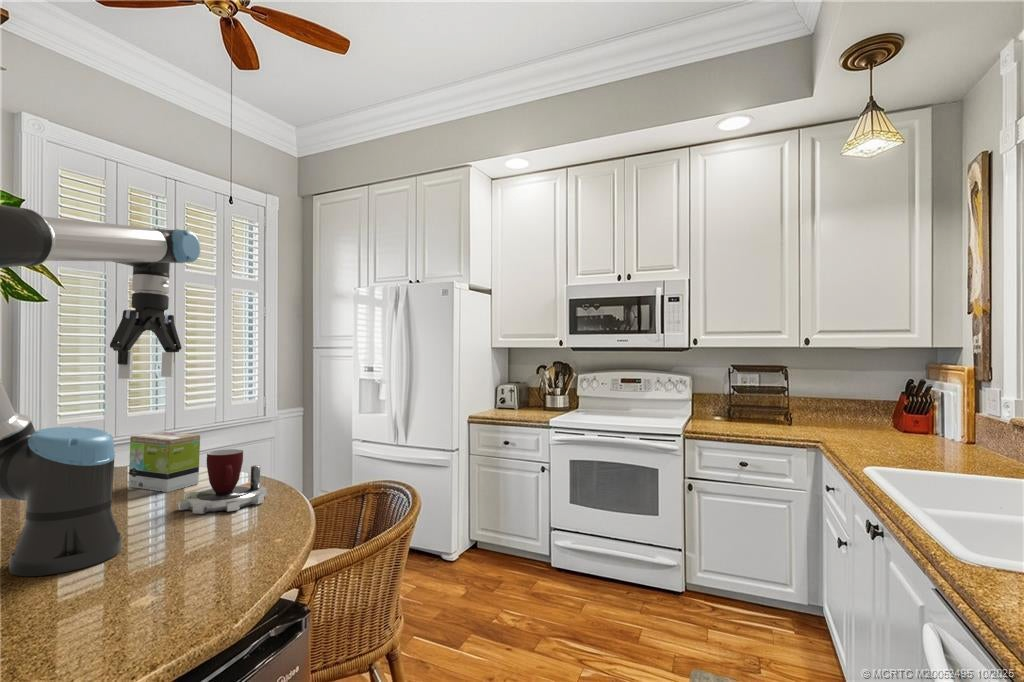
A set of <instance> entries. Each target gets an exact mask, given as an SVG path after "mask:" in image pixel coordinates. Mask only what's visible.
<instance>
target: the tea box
mask: <svg viewBox="0 0 1024 682" xmlns="http://www.w3.org/2000/svg"><path fill="white" fill-rule="evenodd" d="M129 442H130V443H129V467H128V469H129V470H128V488H135V489H142V490H143V489H144V490H148V491H149V490H150V491H154V490H155V491H156V492H160V491H162V493H166V492H167V493H170V492H169V491H171V492H174V491H173V490H175V491H178V490H177V489H179V490H182V489H185V488H184V487H186V488H189V487H188V486H190V487H192V486H191V485H193V486H196V485H198V484H199V479H200V478H199V476H200V475H199V472H200V453H201V448H200V447H201V434H195V433H193V434H192V433H184V432H183V433H181V432H171V431H159V432H150V433H145V434H139V435H133V436H132V435H131V436H130V439H129ZM195 484H196V485H195ZM181 488H182V489H181Z"/></svg>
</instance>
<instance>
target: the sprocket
mask: <svg viewBox="0 0 1024 682" xmlns="http://www.w3.org/2000/svg"><path fill="white" fill-rule="evenodd" d="M249 482H250V484H246V483H245V484H244V483H243V484H240V485H236V486H235V488H234V489H233V491H231V492H228V493H215V492H214V490H213V488H212V487H210V488H207V489H203V490H199V491H190V492H187V493H185V494H184V498H182V499H180V498H179V499H178V500H177V502H178V504H177V505H178V506H177V507H178V510H179V511H185V510H189V511H192V514H202V515H203V514H205V513H208V512H221V511H226V512H233V511H239V510H240V508H244V507H247V506H249V505H260V504H261V503H263V502H265V497H267V494H268V488H267V487H265V486H261V487H260V485H261V484H260V483H261V465H251V466H250V481H249Z"/></svg>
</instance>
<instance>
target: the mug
mask: <svg viewBox="0 0 1024 682" xmlns="http://www.w3.org/2000/svg"><path fill="white" fill-rule="evenodd" d="M243 462H244V450H243V449H234V448H233V449H217V450H214V451H209V452H207V454H206V469H207V476H208V481H209V484H210V486H211V487H212V488H213V490H214V492H215V493H228V492H231V491H233V489H234V488H235V486H237V484H238V482H239V480H240V476H241V471H242V467H243ZM211 487H210V488H211Z"/></svg>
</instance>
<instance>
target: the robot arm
mask: <svg viewBox="0 0 1024 682" xmlns="http://www.w3.org/2000/svg"><path fill="white" fill-rule="evenodd" d="M200 254H201V243H200V241H199V238H198V236H197V235H196V234H195V233H194V232H192V231H191V230H189V229H179V228H175V229H163V228H153V227H145V226H138V225H137V226H135V225H126V224H118V223H117V224H115V223H108V222H107V223H106V222H98V221H88V220H77V219H70V218H61V217H51V216H42V215H41V214H40V213H39V212H37V211H35V210H32V209H29V208H24V207H23V208H22V207H18V206H17V207H16V206H10V205H3V204H0V269H1V268H11V267H12V268H13V267H15V268H16V267H37V266H40V265H42V264H44V263H45V262H47V261H50V262H51V261H53V262H107V263H109V262H110V263H111V262H112V263H117V264H121V265H126V266H130V267H132V281H131V283H132V284H131V291H132V292H133V293H132V294H131V305H130V306H131V308H133V309H124V310H123V311H122V315H121V316H122V317H121V320H120V323H119V324H118V326H117V329H116V331H115V333H114V335H113V336H112V339H111V341H110V342H109V348H111V349H112V350H113V351H114V352H117V364H118V370H117V371H118V373H117V375H118V376H117V379H119V380H120V379H121V380H123V379H125V380H131V379H132V378H133V364H134V363H133V361H134V360H133V359H134V351H130V350H132V348H133V347H134V345H135V344H136V343H137V341H138V340H139V338H140V337H141V336H142V334H143V332H147V331H151V333H154V334H155V336H156V338H157V340H158V342H159V343H160V345H161V347H162V349H163V350H164V351H162V352H161V369H160V370H161V371H160V372H161V373H160V375H161V376H160V377H161V378H164V377H165V378H173V377H174V368H175V367H174V366H175V360H176V359H175V357H176V353H179V352H180V350H182V345H181V342H180V337H179V335H178V331H177V328H176V326H175V325H176V324H175V316H174V315H173V314H165V312H166V311H168V309H169V305H170V304H169V301H170V300H169V296H168V295H167V294H169V293H170V269H171V268H170V267H171V264H184V263H185V264H186V263H193V262H195V261H197V259H198V258H199V257H200ZM31 420H32V419H31V417H29V416H28V415H26V414H22V413H18V412H16V411H15V409H14V407H13V405H12V403H11V400H10V399H9V396H8V394H7V391H6V389H5V387H4V384H3V382H2V381H1V379H0V500H10V501H12V500H13V501H25V503H26V504H25V505H26V506H25V522H24V526H23V528H22V530H21V532H20V535H19V537H18V539H17V543H16V545H15V547H14V548H15V549H14V550H13V551H12V552H11V553H10V556H9V560H8V573H9V574H11V575H13V576H18V577H40V576H41V577H42V576H43V577H44V576H51V575H56V574H57V575H58V574H63V573H68V572H73V571H76V570H81V569H84V568H87V567H91V566H94V565H97V564H100V563H103V562H104V561H107V560H110V559H111V558H113V557H115V556H117V554H118V555H119V553H120V552H121V551H122V543H123V540H122V538H123V537H122V535H121V533H120V532H119V531H118V526H117V522H116V520H115V517H114V514H113V510H112V503H113V502H112V499H113V485H114V484H113V483H114V472H115V471H114V470H115V469H114V468H115V457H116V452H115V443H114V442H115V440H114V437H113V436H112V434H111V433H109V432H108V431H106V430H102V429H98V428H92V427H84V426H83V427H81V426H77V427H72V426H63V427H62V426H59V427H58V426H57V427H47V428H41V429H38V430H36V429H35V426H34V424H33V423H32V421H31Z"/></svg>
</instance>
